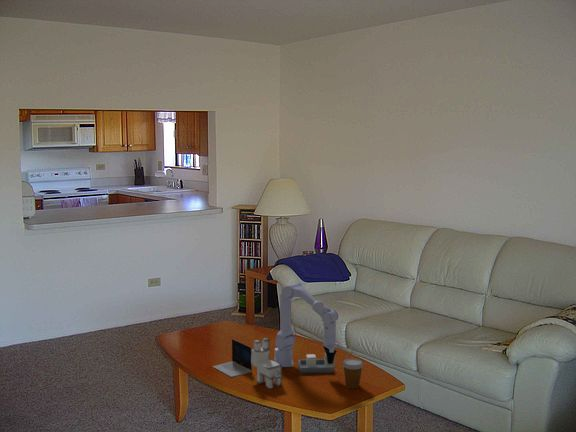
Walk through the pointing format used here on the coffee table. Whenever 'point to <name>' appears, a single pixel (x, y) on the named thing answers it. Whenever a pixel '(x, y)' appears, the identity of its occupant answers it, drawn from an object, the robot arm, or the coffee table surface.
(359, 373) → the disposable coffee cup
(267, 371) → the toy llama
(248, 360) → the laptop
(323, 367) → the grey tray
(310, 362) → the cream block
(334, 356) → the sage block
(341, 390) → the coffee table surface
